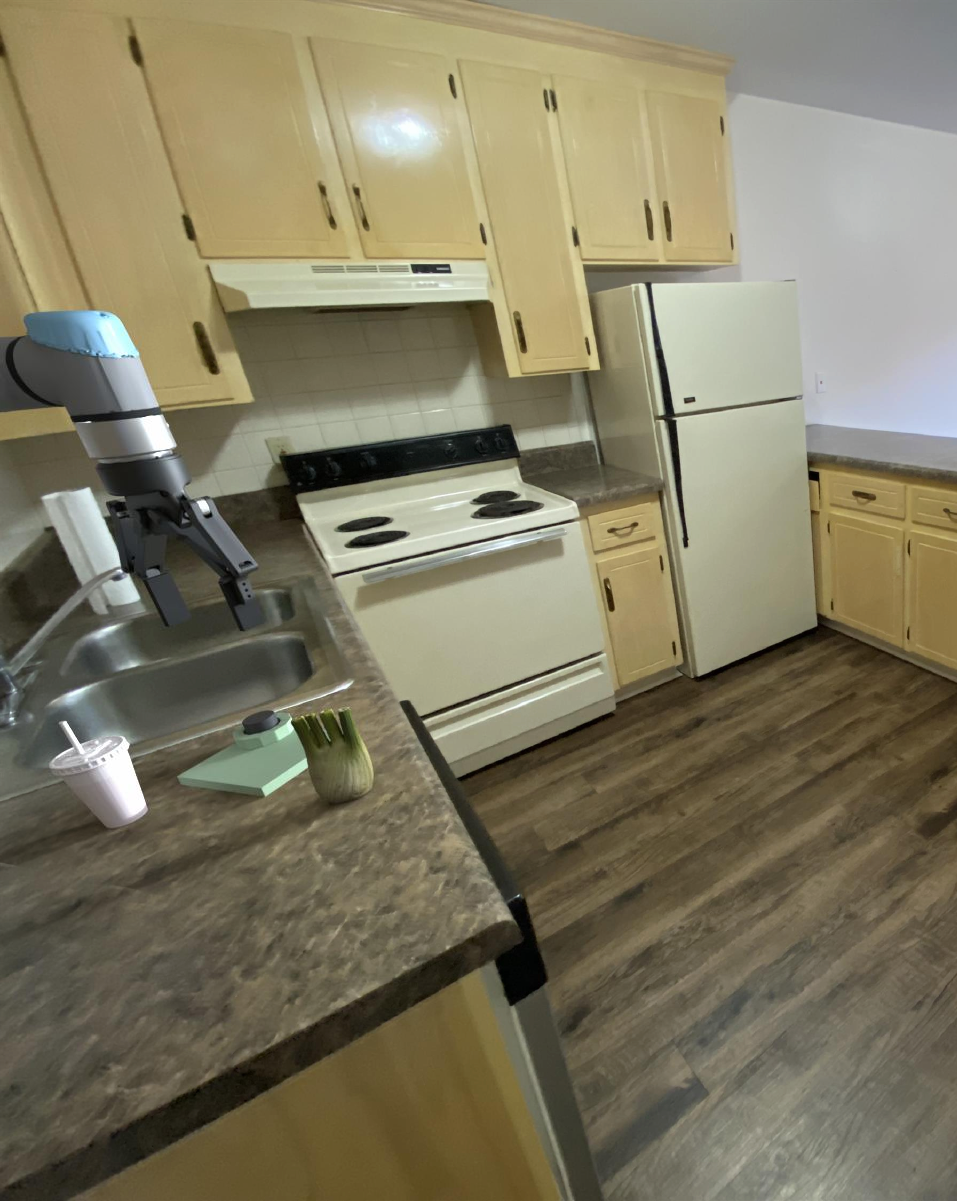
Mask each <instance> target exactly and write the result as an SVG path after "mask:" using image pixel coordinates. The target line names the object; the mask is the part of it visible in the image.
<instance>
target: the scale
mask: <svg viewBox="0 0 957 1201" xmlns="http://www.w3.org/2000/svg"><path fill="white" fill-rule="evenodd" d="M274 713H275V715H276V717H277V719H278V722H279V724H278V725H276V726H275V727H273V728H271V729H270V730H267V731H264V732H262V733H257V734H252V735H248V734H247V733H246V731H245V729H244V727H243V724H242V725H240V726H238V727H236V729H235V730H234V731H233V732H232V734H231V736H232V739H233V741H234V743H232V744H230V745H228V746H227V747H225V748H223V749H222V750H220V751H218V752H215V754H213V755H211V756H210V757H208V758H205V759H204V760H202V761H201V762H199V763H198V764H195V765H194V766H192V767H191V768H189V769H188V770H185V771H184V772H182V773H181V774H179V775H177V776H176V778H177V780H178V781H179V783H180V785H181V786H186V787H187V786H188V787H193V788H201V789H208V790H214V791H222V792H227V793H228V792H229V793H236V794H244V795H250V796H257V797H264V798H266V797H268V796H269V795H270V794H272V793H273V792H274V791H276V790H278V789H279V788H280V787H282V786H283V785H285V784H286V783H288V782H289V781H290V780H292V779H293V778H295V777H296V776H298V775H299V774H300V773H302V772H304V771H305V770H306V769H308V764H307V759H306V755H305V751H304V748H303V746H302V744H301V741H300V740H299V737H298V735H297V733H296V732H295V730H294V728H293V726H292V725H291V720H292V719H293V718H292V716H291V715H290V713H289V712H274ZM323 731H324V732H325V734H326V736H327V738H328V739H329V736H328V734H327V731H326V729H323ZM342 733H343V731H342ZM329 741H331V740H330V739H329Z"/></svg>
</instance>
